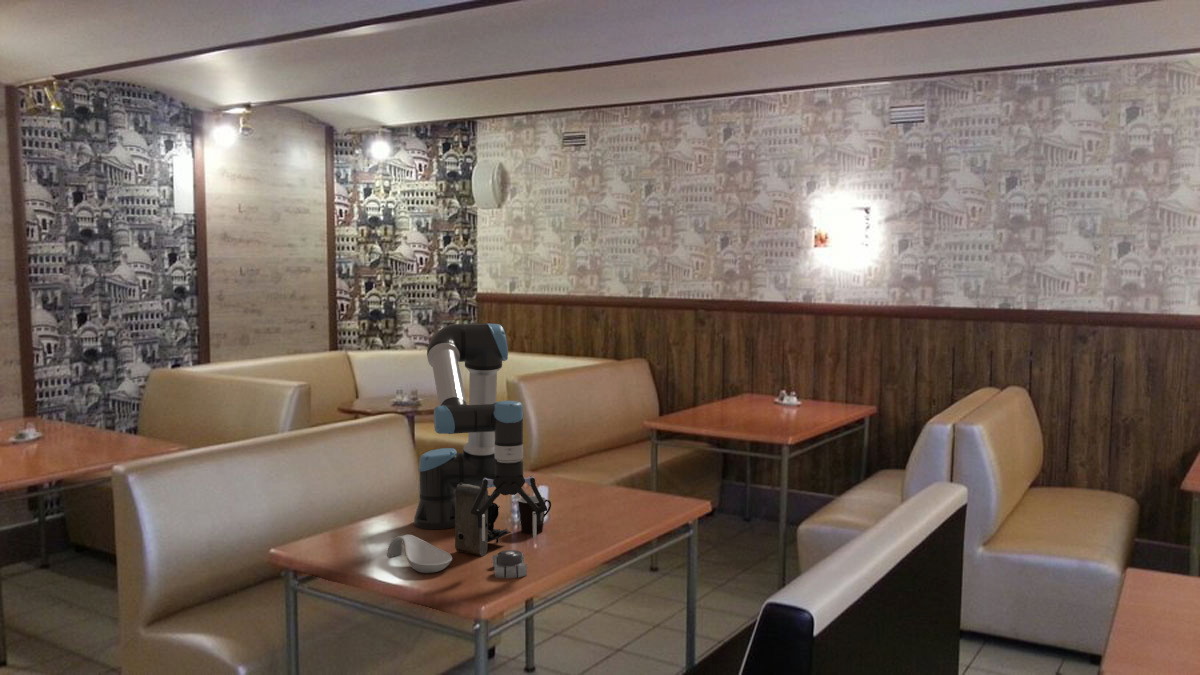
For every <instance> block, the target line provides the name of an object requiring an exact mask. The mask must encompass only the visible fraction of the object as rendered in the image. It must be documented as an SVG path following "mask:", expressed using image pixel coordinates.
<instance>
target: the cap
mask: <svg viewBox="0 0 1200 675" xmlns="http://www.w3.org/2000/svg"><path fill="white" fill-rule="evenodd" d="M522 554H523V553H522V551H520V550H514V549H510V550H509V549H508V550H506V549H505V550H502V551H499V552H498V553H497V555H498V564H502V565H515V564H519V563H522Z"/></svg>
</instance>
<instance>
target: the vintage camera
mask: <svg viewBox="0 0 1200 675" xmlns="http://www.w3.org/2000/svg"><path fill="white" fill-rule="evenodd" d="M481 487H482V485H481V486H473V485H470V484H464V483H460V484H459V485H457V488H456V491H455V493H456V501H455V527H454V530H455V531H454V549H455V550H456V551H457V552H460V553H466V554H470V555H475V556H480V557H481V556H482V557H484V556H485V555H486V554H487V552H488V543H489V542H493V541H495V542H496V543H498V544H499V542H500V541H499V539H500V538H502V537H505V536H506V535H508V534H510V533H512V531H509V530H508V528H505V529H500V528H495V523H496V520H498V517H499V513H500V512H499V508H500V507H501V506H500V505H498V504H497V503H496V502H493V503H492V504H491V505H490V506H489V508H488V509H487V510H486V511H485V512H484V514H485V541H482V528H478V525H477V515H474V514H471V507H472V505H473V503H474V501H475V499H476V497H477V495H478V493H479V491H480V489H481ZM490 495H491V494H490ZM490 495H489V490H488V489H487V490H486V492H485V494H484V496H483V498H482V500H481V502H480V504H479V506H478V508H477V509H478V510H479V509H480V507H481V506H482V505H483V504H484V503H485V501H486V500H487V499H488V498H489V497H490Z"/></svg>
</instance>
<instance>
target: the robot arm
mask: <svg viewBox="0 0 1200 675" xmlns="http://www.w3.org/2000/svg"><path fill="white" fill-rule="evenodd" d="M426 357H427V361H428V363H429V365H430V367H432V371H433V378H434V383H435V388H436V395H437V400H438V406H435V407H434V409H433V425H434V431H435V433H436V434H439V435H440V434H441V435H442V434H443V435H444V434H445V435H447V434H448V435H454V434H468V435H467V436H468V440H467V441H468V442H467V443H465V445H463V447H462V448H463V449H462V450H463V452H457V449H455V448H453V447H452V448H451V447H450V448H447V447H445V448H437V449H432V450H429V451H426V452H425V453H423V454H421V456H420V457H419V462H418V463H419V465H418V466H419V467H418V472H419V502H418V505H417V508H416V511H415V514H414V519H413V520H414V526H415V527H417V528H420V529H423V530H424V529H425V530H444V529H445V530H446V529H451V528H455V501H456V493H455V491H456V488H457V485H459V484H460V483H464V484H470V485H473V486H481V485H482V487H481V489H480V491H479V493H478V495H477V497H476V499H475V501H474V503H473V505H472V507H471V514H474V515H477V525H478V528H482V541H485V514H484V512H485V511H486V510H487V509H488V508H489V506H490V505H491V504H492V503H495V501H496V499H497V498H498V497H499V496H500V495H502V496H508V495H509V496H510V495H511V496H515V495H517V494H519V496H521V497H523V499H524V500H525V501H526V502H527V503H528V504H529V505H530V506H531V507H532V509H533V510H534V511H535V512H533V534H532V537H533V538H532V539H535V540H536V539H537V538H538V537H537V535H538V534H537V525H540V524H541V513H542V512H544V511H545V512H547V510H548V506H547V505H546V504H545V502H544V500H543V499H542V497H543V496H542V494H541V493H540V491H539V489H538V487H537V486H536V478H535V477H534V476H533V475H531V476H529V477H524V461H523V460H522V459H523V458H524V442H523V441H524V439H523V438H524V432H523V431H524V417H525V416H524V411H523V410H524V409H523V408H524V407H523V404H522V402H520V401H517V400H500V401H497V395H498V394H497V387H498V372H499V371H500V370H502V368H503V362H505V361H507V360H508V359H509V358H508V357H509V350H508V342H507V336H506V332H505V330H504V327H503V326H502V325H501V324H500V323H499V324H498V323H488V322H487V323H462V324H460V323H453V324H449V325H446V326H444V327H442V328H440V329H439V330H438V331H437V332H435V334H434V335H433V336H432V337H431V339H430V341H429V342H428V346H427V350H426ZM460 362H461V363H464V367H465V369H466V370H467V371H468V372H469V382H468V384H469V386H468V387H469V388H468V393H469V394H468V395H469V396H468V402H467V398H466V394H465V388H464V384H463V379H462V375H461V370H460V365H459V363H460ZM525 484H527V486H530V487H531V489H532V492H533V494H534V496H536V497H537V499H538V501H539V503H540V505H541V507H538V506H537V505H536V504H535V503H534V501H533V500H532V499H531V498H530V497H529V496H530V495H529V494H527V492H526V491H525V490H524V488H523V486H524V485H525ZM489 488H494V490H493V491H492V493H491V494H490V497H489V498H488V499H487V500H486V501H485V503H484V504H483V505H482V506H481V507H480V509H479V510H478V509H477V508H478V506H479V504H480V502H481V500H482V498H483V496H484V494H485V492H486V490H488V489H489Z"/></svg>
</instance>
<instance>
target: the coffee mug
mask: <svg viewBox="0 0 1200 675" xmlns="http://www.w3.org/2000/svg"><path fill="white" fill-rule="evenodd" d="M528 496H529V497H530V498H531V499H532V500H533V501H534V503H535V504H536V505H537V506H538V507H541V505H540V503H539V501H538V499H537V497H536V495H532V496H531V495H528ZM541 497H542V499H543V500H544V502H545V504H546V503H547V502H548V505H549V506H548V507H547V511H544V512H542V513H541V524H540V525H537V535H539V534H541V533H543V529H544V521H545V517H546V516H547V515H548V513H549V512H550V510H551V508H552V501H551V500H549V499H547V498H546V497H543V496H541ZM517 503H518V512H519V519H520V521H519V522H520V526H521V527H520V528H521V533H522V534H525V535H533V512H535V511H534V510H533V509H532V507H531V506H530V505H529V504H528V503H527V502H526V501H525V500H524V499H523V497H522V496H521V497H519V498H517Z"/></svg>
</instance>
